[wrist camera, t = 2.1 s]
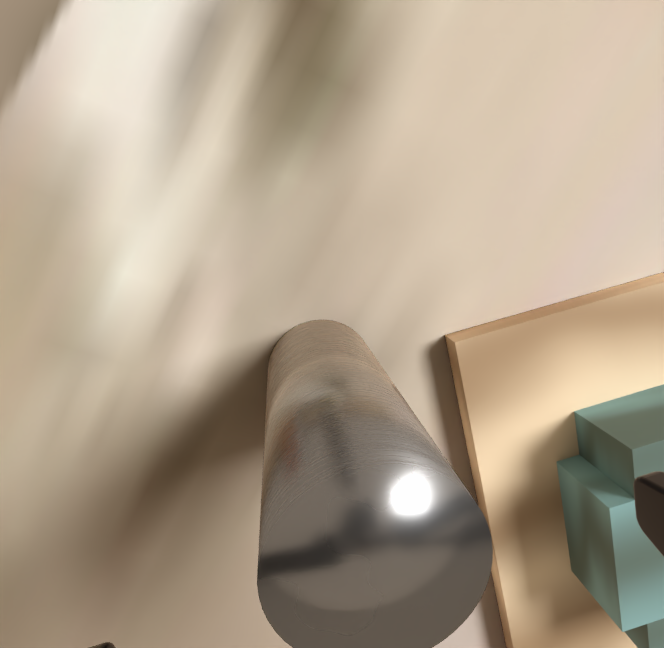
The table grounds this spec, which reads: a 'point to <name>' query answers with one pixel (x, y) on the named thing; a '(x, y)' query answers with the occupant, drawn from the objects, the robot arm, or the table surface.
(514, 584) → the socket board
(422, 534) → the steel pin
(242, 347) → the table surface
